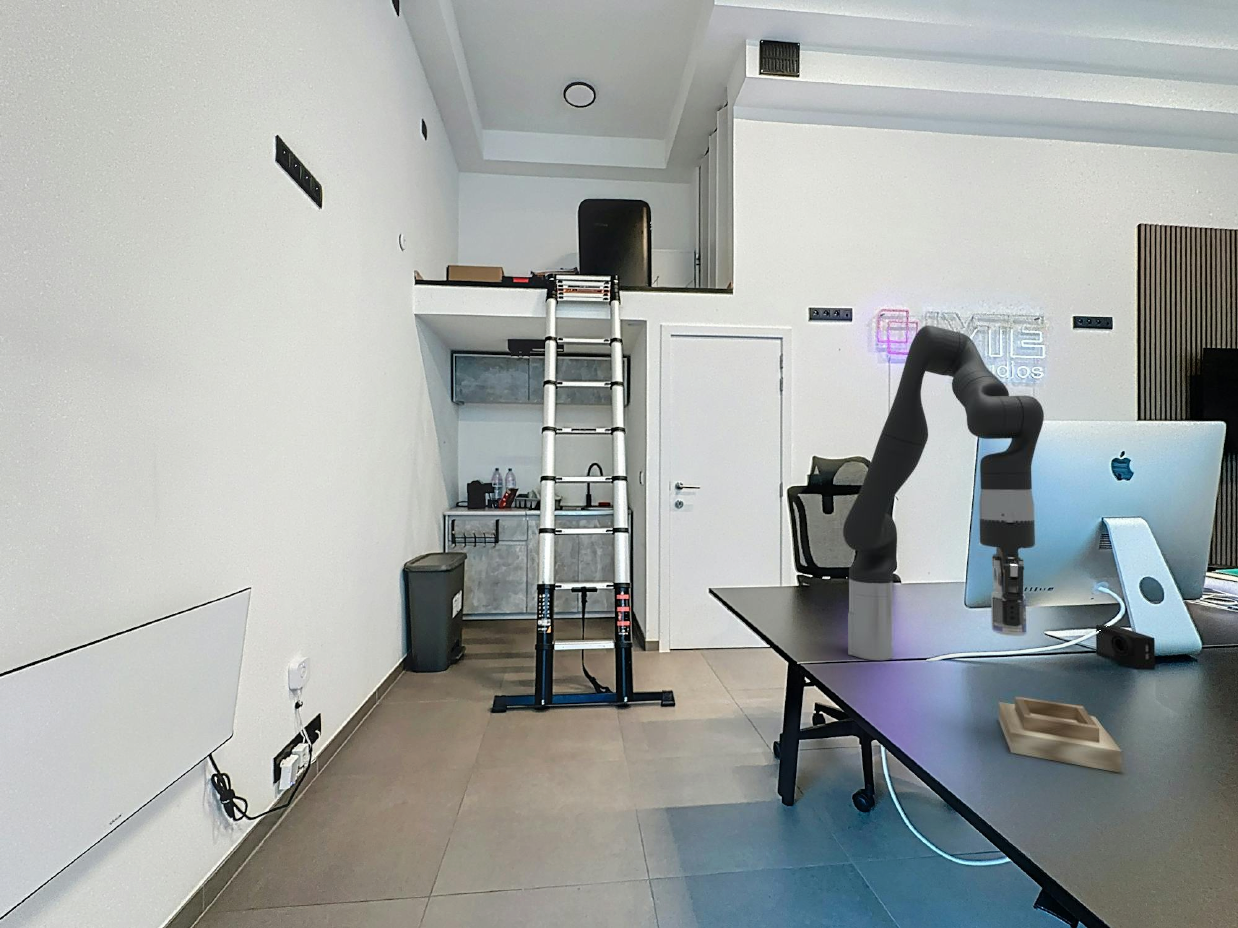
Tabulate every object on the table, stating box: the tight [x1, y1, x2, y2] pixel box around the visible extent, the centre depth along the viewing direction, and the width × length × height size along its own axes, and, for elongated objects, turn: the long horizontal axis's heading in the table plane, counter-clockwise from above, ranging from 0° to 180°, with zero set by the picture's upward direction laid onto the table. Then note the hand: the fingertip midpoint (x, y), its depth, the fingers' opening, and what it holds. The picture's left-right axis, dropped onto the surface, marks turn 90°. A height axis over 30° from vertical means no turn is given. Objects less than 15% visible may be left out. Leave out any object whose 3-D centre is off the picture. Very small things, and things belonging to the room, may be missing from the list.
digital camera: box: [1095, 624, 1156, 671], centre depth 130 cm, size 10×5×7 cm, turn 0°
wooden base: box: [998, 696, 1123, 774], centre depth 90 cm, size 13×13×5 cm
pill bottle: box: [990, 579, 1027, 637], centre depth 95 cm, size 5×5×8 cm
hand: (1008, 620), depth 95 cm, fingers closed on pill bottle, 4 cm apart
